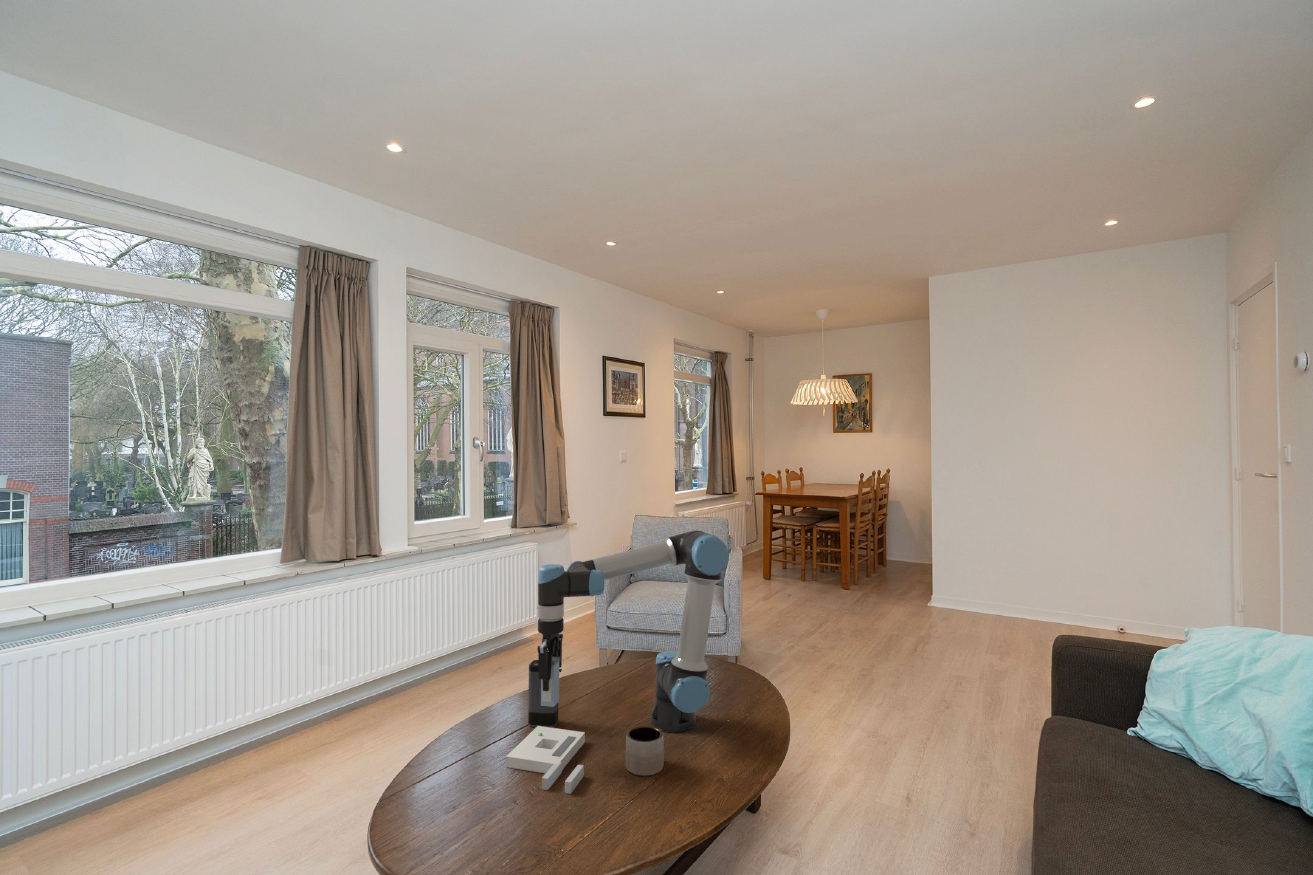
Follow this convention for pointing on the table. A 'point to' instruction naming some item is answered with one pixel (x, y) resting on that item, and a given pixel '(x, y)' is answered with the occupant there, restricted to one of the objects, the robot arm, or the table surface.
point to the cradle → (570, 781)
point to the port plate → (545, 749)
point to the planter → (644, 750)
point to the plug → (553, 683)
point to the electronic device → (539, 702)
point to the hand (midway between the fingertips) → (550, 697)
